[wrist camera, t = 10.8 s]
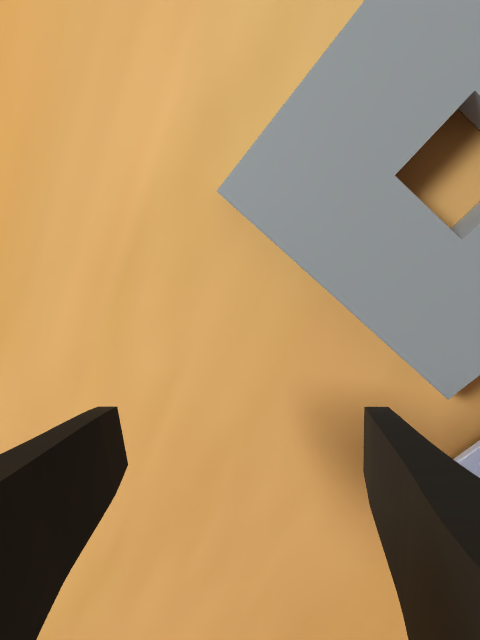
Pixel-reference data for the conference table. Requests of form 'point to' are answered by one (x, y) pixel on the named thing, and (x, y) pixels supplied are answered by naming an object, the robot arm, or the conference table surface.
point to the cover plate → (378, 181)
